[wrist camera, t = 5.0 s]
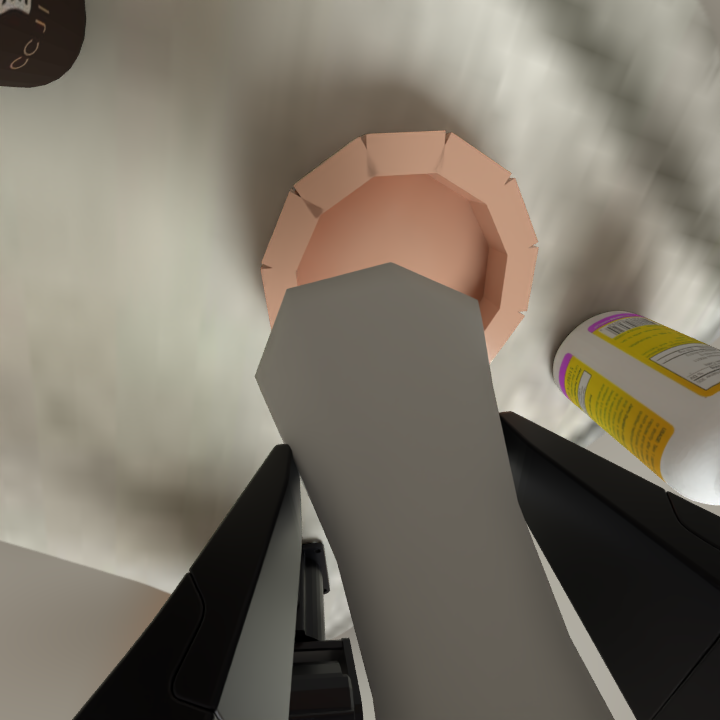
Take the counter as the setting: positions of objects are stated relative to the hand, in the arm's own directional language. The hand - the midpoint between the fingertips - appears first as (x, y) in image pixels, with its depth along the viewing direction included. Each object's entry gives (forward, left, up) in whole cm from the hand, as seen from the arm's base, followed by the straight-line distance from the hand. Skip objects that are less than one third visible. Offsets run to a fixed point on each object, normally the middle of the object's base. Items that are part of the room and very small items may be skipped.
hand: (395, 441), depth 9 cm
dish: (0, -3, -13) cm, 13 cm away
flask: (0, 0, -3) cm, 3 cm away
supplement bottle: (-6, -17, -13) cm, 22 cm away
